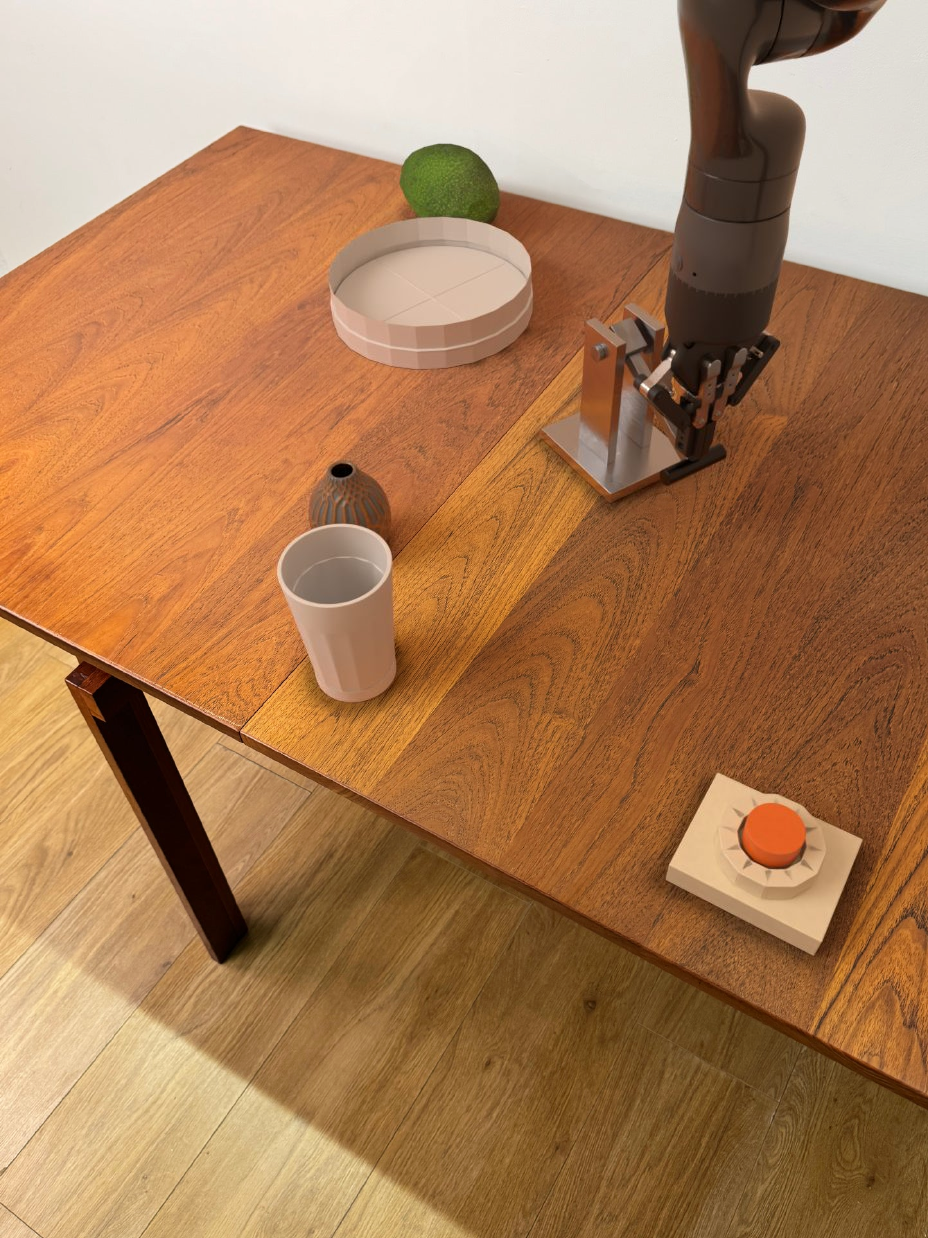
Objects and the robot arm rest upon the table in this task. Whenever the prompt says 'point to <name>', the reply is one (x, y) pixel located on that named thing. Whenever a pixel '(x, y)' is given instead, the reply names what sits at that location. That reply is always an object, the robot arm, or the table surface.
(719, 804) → the block
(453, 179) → the fruit
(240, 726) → the table surface
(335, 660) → the cup
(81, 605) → the table surface
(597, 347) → the lever bracket
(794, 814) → the power button
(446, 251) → the dish
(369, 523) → the vase
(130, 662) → the table surface
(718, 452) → the metal lever
